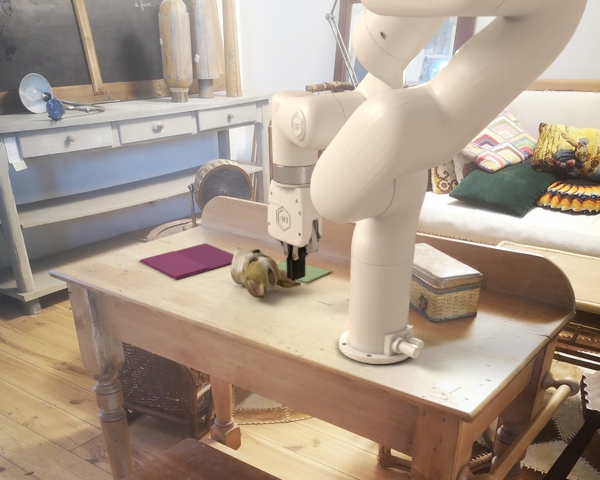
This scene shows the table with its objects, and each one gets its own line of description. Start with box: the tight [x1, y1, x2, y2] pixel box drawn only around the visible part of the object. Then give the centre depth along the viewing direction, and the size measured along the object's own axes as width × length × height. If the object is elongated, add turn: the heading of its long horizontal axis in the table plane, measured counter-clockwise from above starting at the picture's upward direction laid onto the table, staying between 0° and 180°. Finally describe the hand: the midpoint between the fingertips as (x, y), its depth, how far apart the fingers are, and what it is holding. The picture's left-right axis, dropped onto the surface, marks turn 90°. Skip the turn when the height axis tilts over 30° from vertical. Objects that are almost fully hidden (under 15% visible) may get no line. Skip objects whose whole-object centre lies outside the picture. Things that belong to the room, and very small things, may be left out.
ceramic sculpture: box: [229, 246, 302, 299], centre depth 118 cm, size 11×9×15 cm
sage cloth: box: [277, 260, 331, 284], centre depth 129 cm, size 12×8×1 cm, turn 49°
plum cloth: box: [139, 243, 234, 280], centre depth 136 cm, size 16×18×1 cm
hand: (296, 277), depth 110 cm, fingers closed
